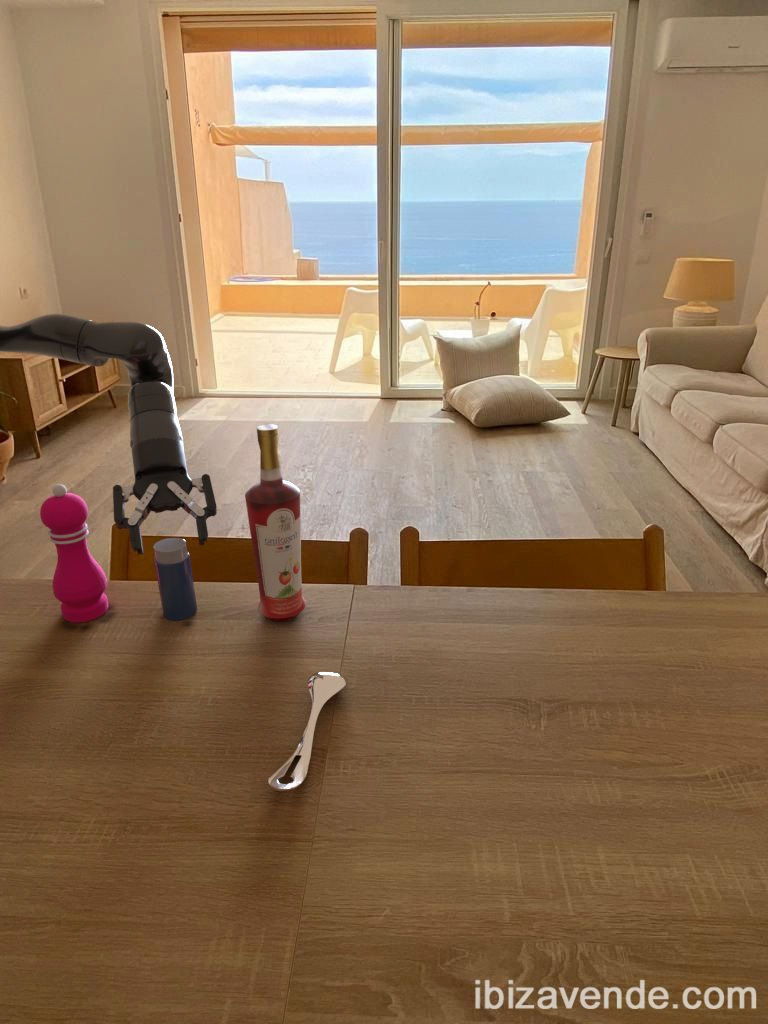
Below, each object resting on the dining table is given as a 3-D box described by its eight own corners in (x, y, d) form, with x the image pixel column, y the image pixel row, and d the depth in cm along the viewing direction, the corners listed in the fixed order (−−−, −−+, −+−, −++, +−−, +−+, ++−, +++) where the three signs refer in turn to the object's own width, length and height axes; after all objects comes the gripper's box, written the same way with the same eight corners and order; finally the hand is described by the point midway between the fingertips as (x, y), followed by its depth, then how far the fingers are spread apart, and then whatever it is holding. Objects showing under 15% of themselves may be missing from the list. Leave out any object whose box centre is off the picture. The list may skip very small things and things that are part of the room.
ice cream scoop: (300, 776, 67) (254, 769, 68) (302, 805, 68) (256, 798, 69) (351, 663, 85) (314, 658, 86) (352, 687, 86) (315, 683, 87)
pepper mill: (117, 614, 101) (92, 486, 93) (65, 630, 97) (34, 499, 89) (105, 593, 106) (80, 471, 98) (54, 608, 103) (24, 482, 94)
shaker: (158, 620, 99) (147, 552, 95) (169, 602, 103) (158, 536, 99) (191, 621, 99) (181, 552, 94) (201, 603, 103) (191, 536, 99)
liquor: (299, 595, 105) (286, 416, 93) (314, 619, 99) (303, 431, 87) (251, 606, 102) (232, 423, 91) (264, 631, 96) (245, 439, 85)
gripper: (206, 453, 110) (221, 549, 105) (111, 464, 106) (122, 564, 101) (205, 431, 103) (221, 532, 98) (103, 441, 99) (114, 547, 94)
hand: (171, 548), depth 99 cm, fingers open, 8 cm apart
